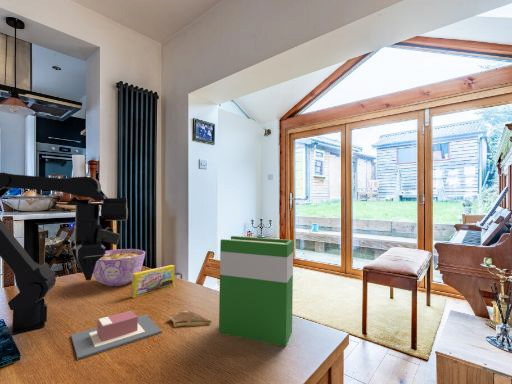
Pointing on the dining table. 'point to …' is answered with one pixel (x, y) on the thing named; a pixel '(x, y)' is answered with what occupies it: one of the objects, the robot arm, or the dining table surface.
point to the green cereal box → (256, 289)
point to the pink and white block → (116, 325)
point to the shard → (188, 319)
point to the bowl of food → (118, 266)
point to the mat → (92, 344)
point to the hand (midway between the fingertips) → (85, 276)
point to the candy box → (152, 280)
